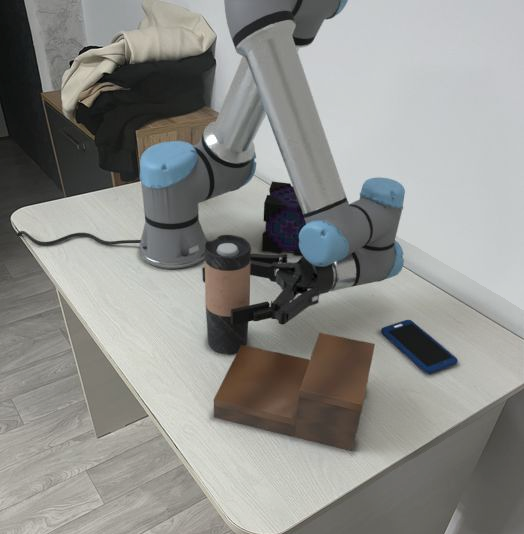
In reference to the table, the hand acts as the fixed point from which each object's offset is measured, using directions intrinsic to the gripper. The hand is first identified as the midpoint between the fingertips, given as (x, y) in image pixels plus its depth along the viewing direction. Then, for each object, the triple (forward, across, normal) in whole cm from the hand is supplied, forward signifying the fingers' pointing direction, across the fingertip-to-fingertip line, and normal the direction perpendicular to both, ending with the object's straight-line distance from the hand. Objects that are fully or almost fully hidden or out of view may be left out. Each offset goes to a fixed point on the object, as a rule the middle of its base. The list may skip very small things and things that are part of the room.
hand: (216, 295), depth 92 cm
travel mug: (-2, 0, -11) cm, 11 cm away
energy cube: (-30, +30, -11) cm, 44 cm away
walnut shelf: (-6, -18, -11) cm, 22 cm away
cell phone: (-34, -14, -11) cm, 39 cm away
